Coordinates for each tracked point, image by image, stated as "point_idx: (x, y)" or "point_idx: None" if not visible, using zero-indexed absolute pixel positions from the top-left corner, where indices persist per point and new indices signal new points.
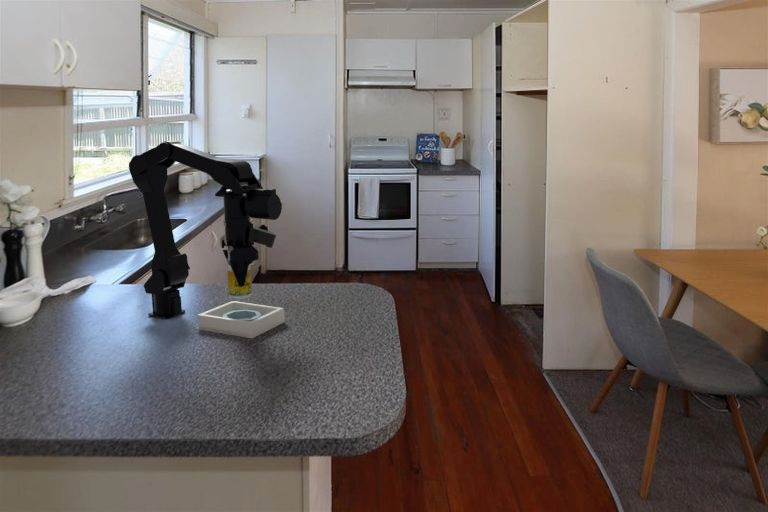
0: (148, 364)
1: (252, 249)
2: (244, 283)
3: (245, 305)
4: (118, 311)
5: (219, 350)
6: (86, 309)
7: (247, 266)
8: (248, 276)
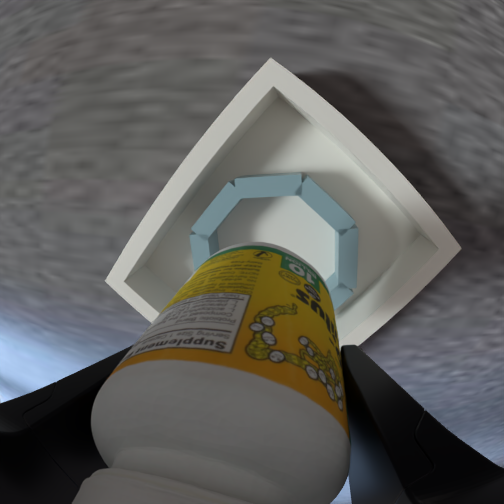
0: (458, 435)
1: None
2: (366, 355)
3: (155, 235)
4: None
5: (478, 329)
6: None
7: (487, 467)
8: (320, 350)
